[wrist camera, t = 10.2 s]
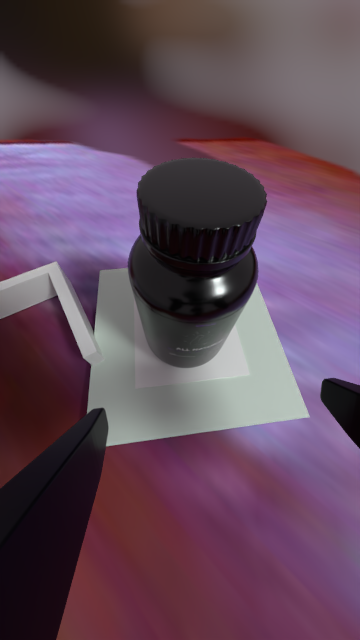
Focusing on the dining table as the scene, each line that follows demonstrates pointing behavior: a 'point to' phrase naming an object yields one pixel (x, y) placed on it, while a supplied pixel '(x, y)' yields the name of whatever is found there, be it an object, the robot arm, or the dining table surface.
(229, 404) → the docking plate
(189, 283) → the supplement bottle
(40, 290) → the holster
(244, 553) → the dining table surface
